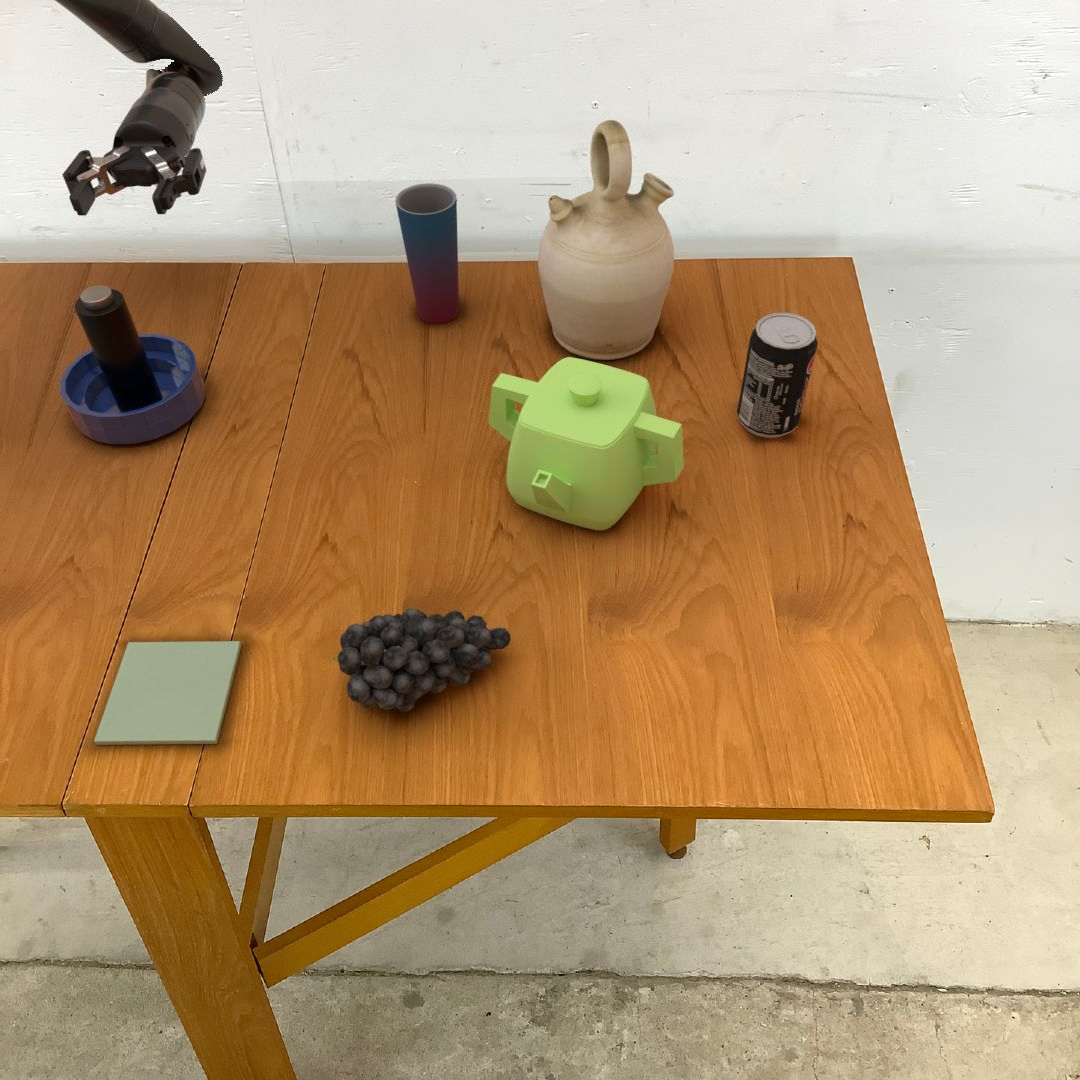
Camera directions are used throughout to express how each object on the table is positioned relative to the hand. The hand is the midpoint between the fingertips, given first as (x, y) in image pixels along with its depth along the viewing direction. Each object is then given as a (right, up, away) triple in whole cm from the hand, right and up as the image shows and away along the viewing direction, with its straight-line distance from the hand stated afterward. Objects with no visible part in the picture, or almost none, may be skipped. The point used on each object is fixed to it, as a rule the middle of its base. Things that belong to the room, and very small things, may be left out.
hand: (118, 207), depth 104 cm
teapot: (+48, -31, -5) cm, 58 cm away
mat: (+13, -48, -20) cm, 54 cm away
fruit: (+35, -47, -20) cm, 62 cm away
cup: (+32, -7, +17) cm, 37 cm away
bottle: (0, -20, +5) cm, 20 cm away
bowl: (0, -20, +5) cm, 21 cm away
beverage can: (+69, -23, +2) cm, 73 cm away
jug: (+52, -10, +14) cm, 55 cm away
